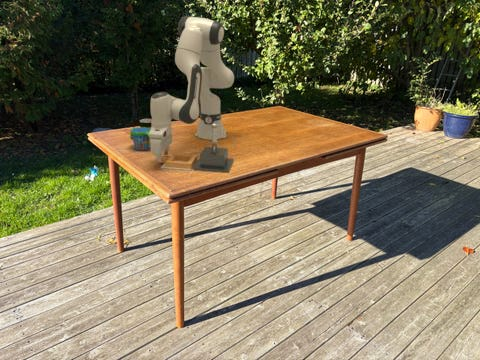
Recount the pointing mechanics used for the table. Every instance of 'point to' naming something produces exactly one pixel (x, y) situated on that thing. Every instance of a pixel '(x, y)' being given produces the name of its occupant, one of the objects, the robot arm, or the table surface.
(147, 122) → the coffee mug
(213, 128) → the stand
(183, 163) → the orange handled frame
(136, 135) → the snack cup
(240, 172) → the table surface
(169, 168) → the mat
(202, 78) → the robot arm
